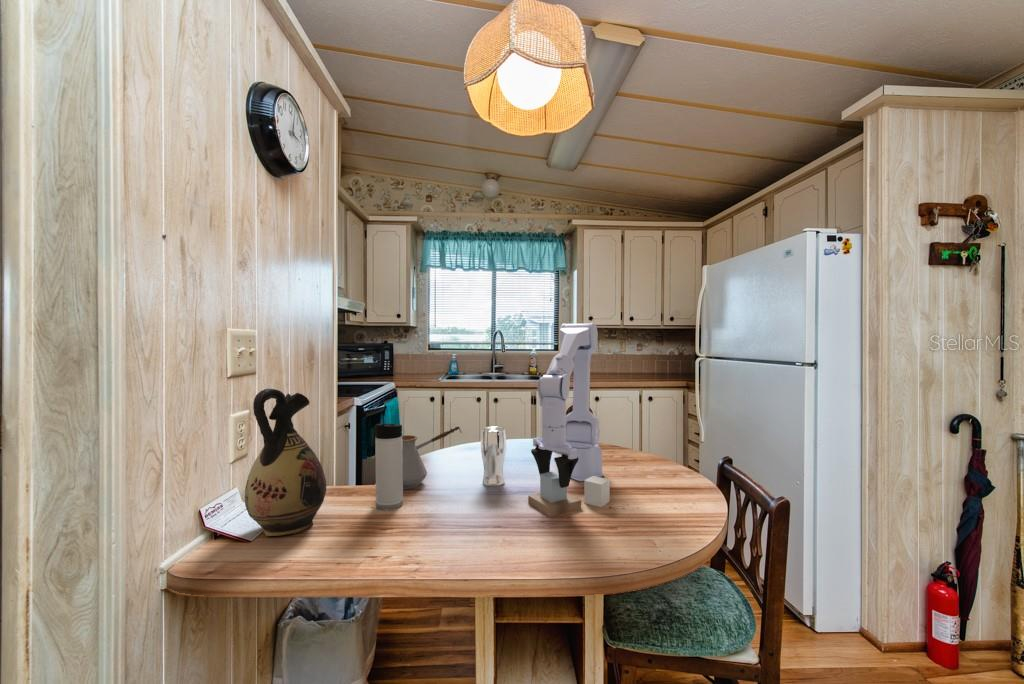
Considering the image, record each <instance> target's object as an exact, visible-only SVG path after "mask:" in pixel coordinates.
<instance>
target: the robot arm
mask: <svg viewBox="0 0 1024 684" xmlns="http://www.w3.org/2000/svg"><path fill="white" fill-rule="evenodd" d="M558 334H559V337H558V338H559V341H560V343H561V345H560V349H559V352H558V354H556V355H554V356H553V358H552V360H551V361H550V364H549V366H548V369H547V371H546V373H545V374H543V376H541V377H539V379H538V383H537V395H538V399H539V405H540V406H541V437H534V438H532V446H533V447H535V448H532V449H531V450H530V451H531V454H532V456H533V458H534V460H535V463H536V466H537V469H538V473H539V475H540V474H543V473H547V472H551V471H550V469H551V461H552V460H551V459H552V457H553V456H552V455H553V453H555V454H558V455H561V456H558V457H554V458H553V459H554V462H555V464H556V468H557V472H558V474H559V484H560V487H561V488H565V487H567V488H569V486H570V482H571V479H573V480H575V481H577V482H584V480H586V479H588V478H590V477H591V476H596V477H601V478H602V477H604V476H605V474H604V473H603V452H602V449H601V447H600V445H599V444H598V443H599V441H600V432H601V430H600V421H599V418H598V417H597V416H596V415H595V414H594V413H592V411H590V395H591V394H590V393H591V392H590V391H591V390H590V389H591V387H590V386H591V385H590V383H591V359H592V354H594V353H597V351H598V342H599V341H598V337H599V336H598V335H599V333H598V327H597V325H596V324H595V323H594V322H591V323H562V324H561V326H560V328H559V333H558ZM572 373H573V387H572V388H573V390H572V391H573V392H572V393H573V394H572V411H571V412H569V413H568V414H567V403H566V402H567V399H568V397H569V394H570V386H571V380H570V379H571V376H572Z"/></svg>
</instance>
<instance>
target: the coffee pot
mask: <svg viewBox="0 0 1024 684" xmlns="http://www.w3.org/2000/svg"><path fill="white" fill-rule="evenodd" d="M456 431H459V432H460V433H461V434H462V433H463V432H462V430H461V428H460V426H455V427H454V428H450V430H447V431H444V432H442V433H440V434H438V435H436V436H435V437H433V438H431V439H428V440H427V441H424V442H423V443H420V444H418V445H416V440H417V439H418V436H416V435H412V434H411V435H408V434H406V435H402V448H403V490H408V489H413V488H416V487H418V486H420V484H421V483H422V482H423V481H424V480H425V479H426V477H427V473H428V471H427V468H426V467H425V464H424V462H423V460H422V457H421V455H420V453H419V451H418V450H420V449H421V448H424V447H425V446H428V445H429V444H430V443H433V442H435V441H439V440H441V439H443V438H445V437H447V436H448V435H450V434H453V433H454V432H456Z"/></svg>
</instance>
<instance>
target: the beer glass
mask: <svg viewBox="0 0 1024 684" xmlns="http://www.w3.org/2000/svg"><path fill="white" fill-rule="evenodd" d="M480 430H481V432H480V434H481V435H480V451H481V453H480V454H481V459H482V463H483V476H482V484H483V485H484V486H487V487H499V486H503V485H505V483H506V482H505V476H504V463H505V457H506V451H507V438H506V428H505V427H503V426H497V425H495V426H493V425H491V426H484V427H481V429H480Z"/></svg>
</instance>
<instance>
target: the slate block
mask: <svg viewBox="0 0 1024 684" xmlns="http://www.w3.org/2000/svg"><path fill="white" fill-rule="evenodd" d="M539 477H540V479H539V483H540V486H539V488H540V489H539V493H540V497H542V498H544V499H545V500H547V501H549V502H551V503H553V502H557V501H561V500H564V499H567V493H568V487H565V488H561V487H560V484H559V474H558V470H553V471H550V472H547V473H543V474H539Z"/></svg>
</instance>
